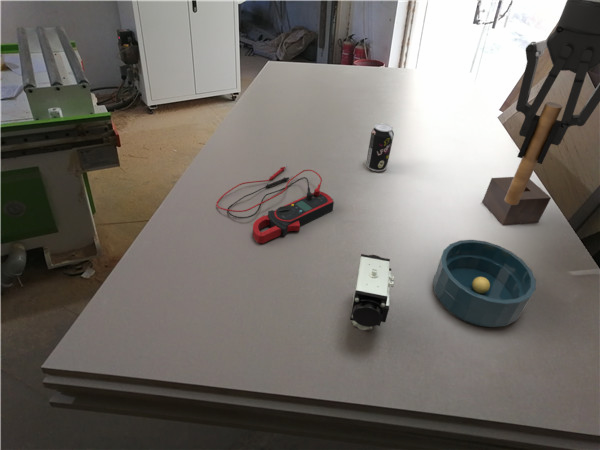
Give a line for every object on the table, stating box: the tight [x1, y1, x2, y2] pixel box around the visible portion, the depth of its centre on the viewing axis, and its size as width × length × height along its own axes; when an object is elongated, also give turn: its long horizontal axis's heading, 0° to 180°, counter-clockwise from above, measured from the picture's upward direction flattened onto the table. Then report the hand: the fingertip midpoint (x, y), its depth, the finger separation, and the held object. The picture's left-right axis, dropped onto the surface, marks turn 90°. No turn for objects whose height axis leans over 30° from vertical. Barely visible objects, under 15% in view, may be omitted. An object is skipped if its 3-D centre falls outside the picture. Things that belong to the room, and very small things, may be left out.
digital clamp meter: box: [215, 164, 334, 244], centre depth 94 cm, size 23×4×25 cm
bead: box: [472, 277, 490, 293], centre depth 74 cm, size 3×3×3 cm
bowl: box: [432, 239, 537, 328], centre depth 73 cm, size 16×16×7 cm
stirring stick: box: [504, 101, 563, 205], centre depth 67 cm, size 2×2×18 cm
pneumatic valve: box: [349, 253, 395, 331], centre depth 65 cm, size 6×12×12 cm, turn 168°
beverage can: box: [365, 122, 395, 172], centre depth 107 cm, size 6×6×12 cm
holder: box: [481, 176, 552, 226], centre depth 95 cm, size 9×9×7 cm
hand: (530, 157), depth 67 cm, fingers closed on stirring stick, 2 cm apart
